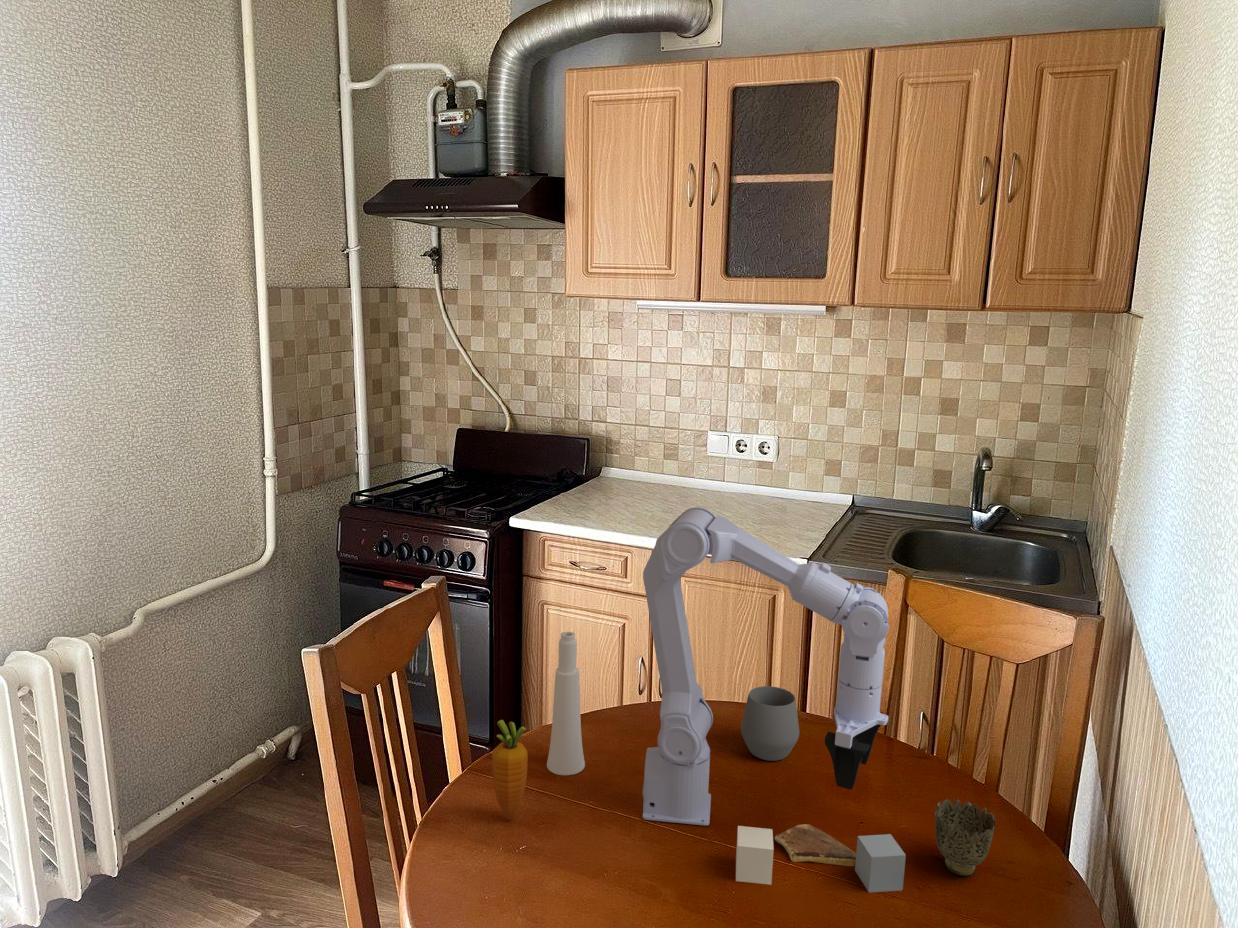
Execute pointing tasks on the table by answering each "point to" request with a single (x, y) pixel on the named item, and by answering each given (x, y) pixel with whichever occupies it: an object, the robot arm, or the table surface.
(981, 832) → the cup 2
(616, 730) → the table surface
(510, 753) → the carrot
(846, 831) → the table surface
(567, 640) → the cosmetic bottle
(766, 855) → the cream block
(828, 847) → the shard
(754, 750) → the cup
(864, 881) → the slate block
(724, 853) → the table surface
